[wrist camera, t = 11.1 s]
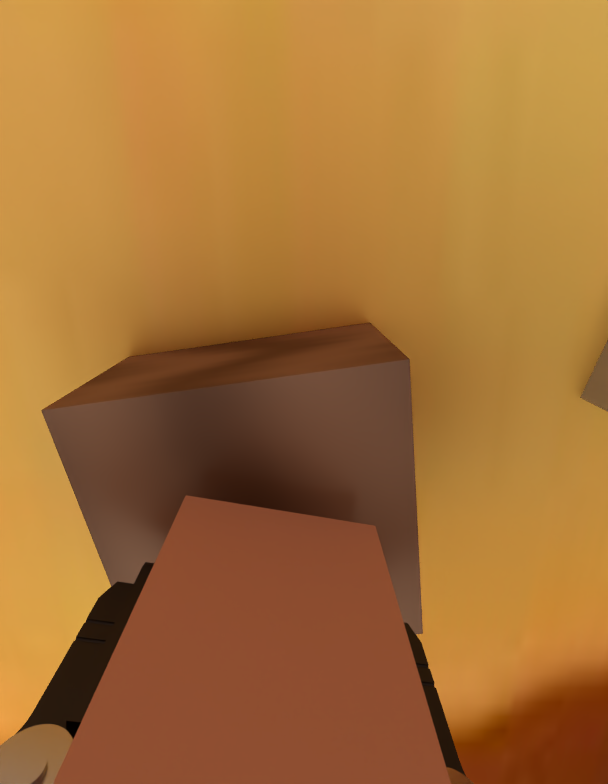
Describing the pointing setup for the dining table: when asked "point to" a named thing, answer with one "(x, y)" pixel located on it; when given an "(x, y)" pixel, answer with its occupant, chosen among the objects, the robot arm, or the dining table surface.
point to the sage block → (598, 382)
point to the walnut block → (247, 442)
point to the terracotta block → (260, 662)
